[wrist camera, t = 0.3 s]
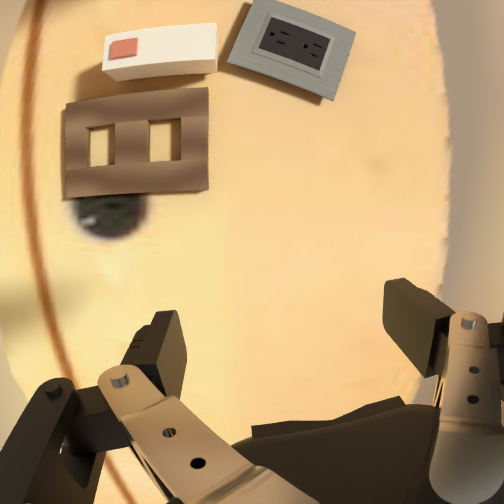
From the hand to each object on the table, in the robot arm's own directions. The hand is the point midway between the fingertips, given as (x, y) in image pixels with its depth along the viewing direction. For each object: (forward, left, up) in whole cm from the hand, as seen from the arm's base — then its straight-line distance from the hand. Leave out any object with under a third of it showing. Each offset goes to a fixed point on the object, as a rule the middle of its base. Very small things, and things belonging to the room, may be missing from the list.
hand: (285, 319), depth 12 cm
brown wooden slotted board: (-9, -14, -28) cm, 32 cm away
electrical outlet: (-21, +5, -28) cm, 36 cm away
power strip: (-19, -10, -28) cm, 35 cm away
